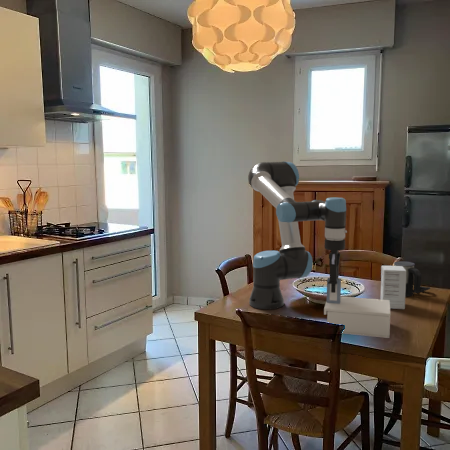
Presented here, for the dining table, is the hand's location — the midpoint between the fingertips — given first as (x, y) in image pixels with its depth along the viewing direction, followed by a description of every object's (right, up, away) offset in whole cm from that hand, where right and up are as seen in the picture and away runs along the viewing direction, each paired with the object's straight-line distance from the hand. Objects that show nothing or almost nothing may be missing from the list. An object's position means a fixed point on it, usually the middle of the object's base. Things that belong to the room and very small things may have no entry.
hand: (333, 298), depth 181 cm
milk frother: (+46, -4, +41) cm, 62 cm away
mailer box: (+9, -11, -1) cm, 14 cm away
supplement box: (+31, -7, +24) cm, 40 cm away
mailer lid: (+9, -4, -2) cm, 10 cm away
